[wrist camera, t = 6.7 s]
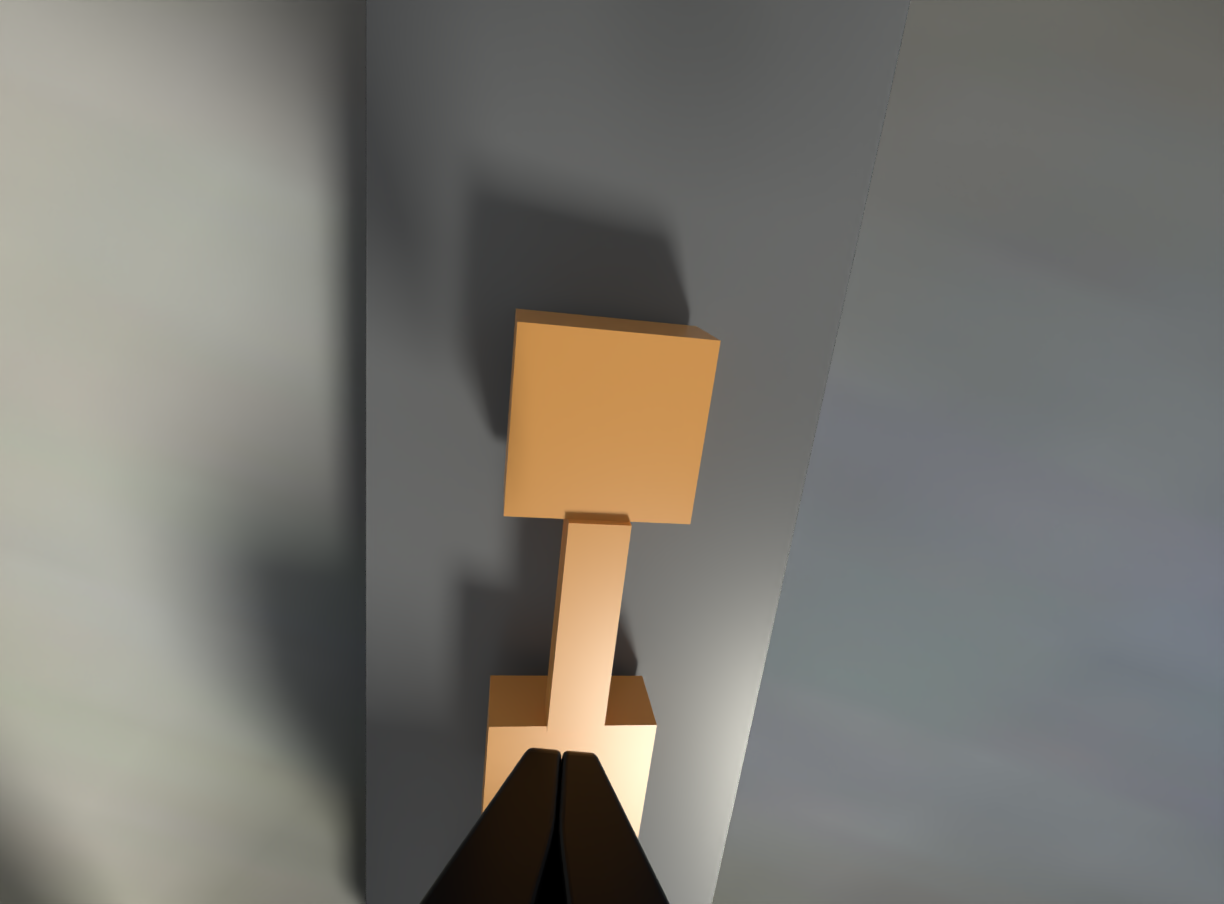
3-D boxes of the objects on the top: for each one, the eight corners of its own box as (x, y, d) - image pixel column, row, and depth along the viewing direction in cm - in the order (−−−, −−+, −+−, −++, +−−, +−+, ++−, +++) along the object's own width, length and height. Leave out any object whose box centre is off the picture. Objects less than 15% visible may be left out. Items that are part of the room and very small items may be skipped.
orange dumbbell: (481, 796, 14) (479, 864, 13) (516, 308, 11) (517, 323, 9) (624, 792, 15) (637, 857, 13) (696, 326, 11) (723, 342, 10)
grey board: (394, 946, 20) (365, 1046, 17) (418, -301, 11) (365, -449, 8) (667, 966, 20) (676, 1066, 18) (906, -226, 11) (986, -347, 9)
